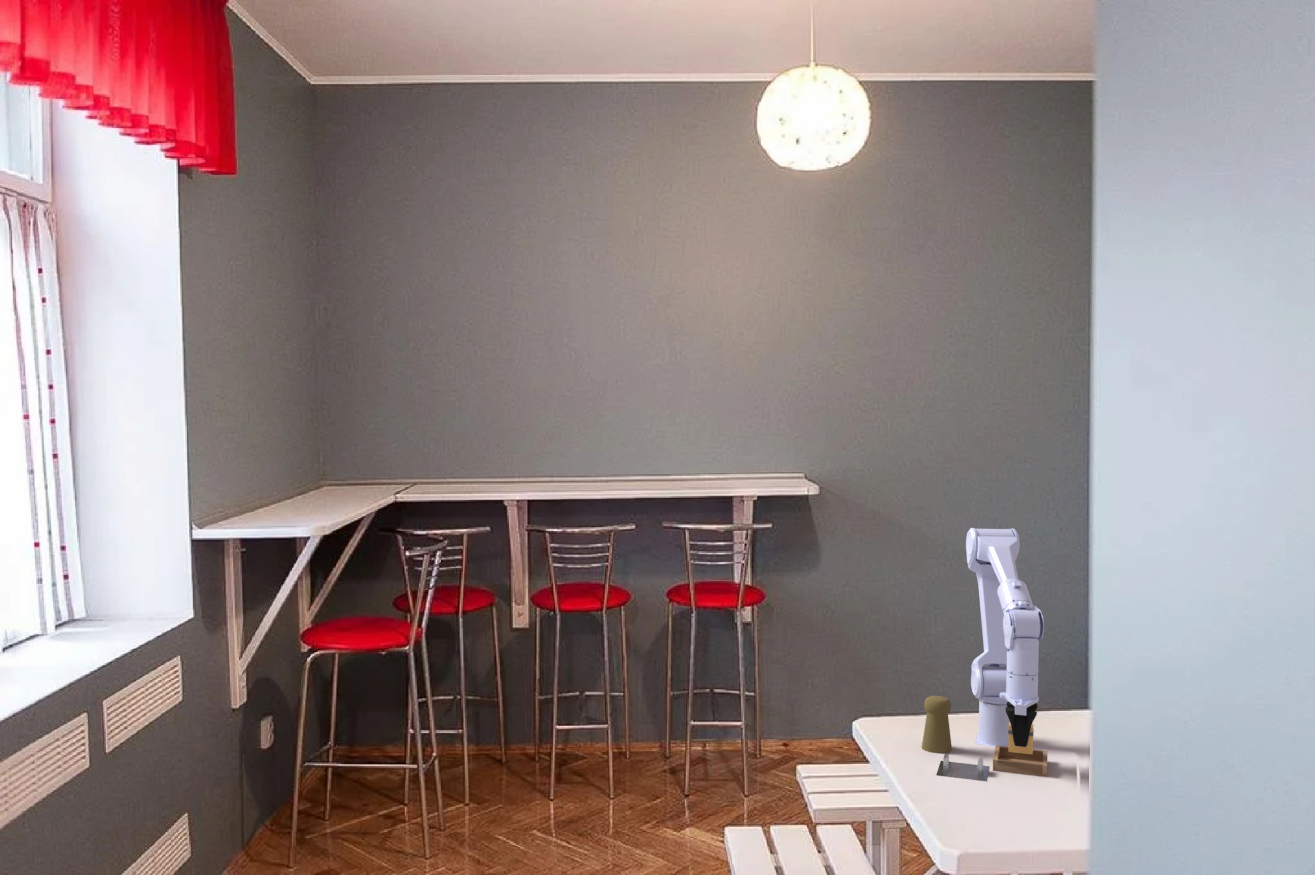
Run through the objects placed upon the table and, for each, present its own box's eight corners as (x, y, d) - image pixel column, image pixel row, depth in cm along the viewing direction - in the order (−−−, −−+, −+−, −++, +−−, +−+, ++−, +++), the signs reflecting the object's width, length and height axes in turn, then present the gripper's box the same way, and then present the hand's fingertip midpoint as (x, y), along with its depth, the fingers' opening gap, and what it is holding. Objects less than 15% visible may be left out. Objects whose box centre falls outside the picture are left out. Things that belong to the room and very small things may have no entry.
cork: (953, 757, 217) (954, 701, 216) (921, 755, 218) (922, 699, 218) (951, 748, 223) (952, 694, 222) (920, 746, 224) (921, 692, 223)
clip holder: (940, 763, 213) (941, 748, 213) (989, 769, 210) (989, 753, 209) (936, 778, 204) (936, 762, 204) (986, 784, 201) (987, 768, 201)
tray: (995, 758, 216) (995, 745, 216) (1047, 764, 213) (1047, 751, 213) (992, 773, 207) (992, 760, 207) (1046, 780, 204) (1047, 766, 204)
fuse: (1008, 747, 212) (1008, 721, 212) (1033, 750, 211) (1033, 724, 210) (1007, 752, 209) (1008, 725, 209) (1033, 754, 208) (1033, 728, 208)
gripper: (1001, 662, 218) (1000, 730, 218) (998, 679, 204) (997, 752, 204) (1039, 665, 215) (1038, 734, 216) (1038, 682, 202) (1037, 756, 202)
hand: (1020, 743), depth 210 cm, fingers closed on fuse, 3 cm apart
